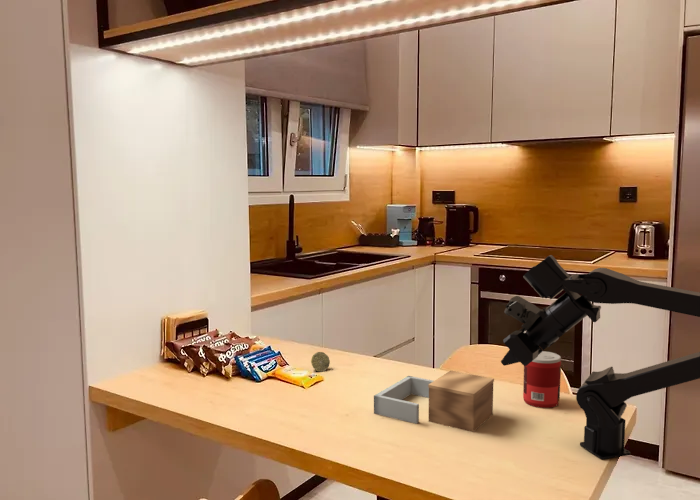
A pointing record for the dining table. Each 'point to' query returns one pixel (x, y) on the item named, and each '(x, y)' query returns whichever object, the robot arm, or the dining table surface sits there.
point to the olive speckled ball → (320, 361)
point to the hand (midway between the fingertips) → (502, 363)
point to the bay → (392, 397)
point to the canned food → (543, 380)
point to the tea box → (461, 400)
